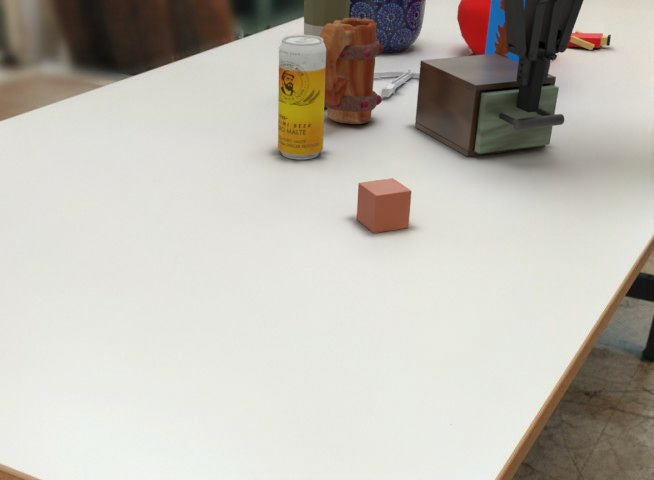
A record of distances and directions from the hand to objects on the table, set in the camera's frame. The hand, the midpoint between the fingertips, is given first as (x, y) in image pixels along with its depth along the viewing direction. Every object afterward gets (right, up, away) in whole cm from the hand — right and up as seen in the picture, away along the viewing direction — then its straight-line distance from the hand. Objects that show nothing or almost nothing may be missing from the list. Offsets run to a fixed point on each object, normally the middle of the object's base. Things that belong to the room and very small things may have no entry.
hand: (527, 109), depth 122 cm
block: (-21, -18, -16) cm, 32 cm away
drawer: (-2, -2, +8) cm, 8 cm away
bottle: (-26, +8, +26) cm, 37 cm away
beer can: (-30, -5, +5) cm, 30 cm away
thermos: (+7, +14, +36) cm, 39 cm away
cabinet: (-4, -1, +12) cm, 13 cm away
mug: (-23, +2, +16) cm, 28 cm away
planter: (-13, +29, +60) cm, 68 cm away
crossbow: (-13, +13, +35) cm, 39 cm away
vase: (+10, +26, +55) cm, 62 cm away
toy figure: (+27, +30, +63) cm, 75 cm away
